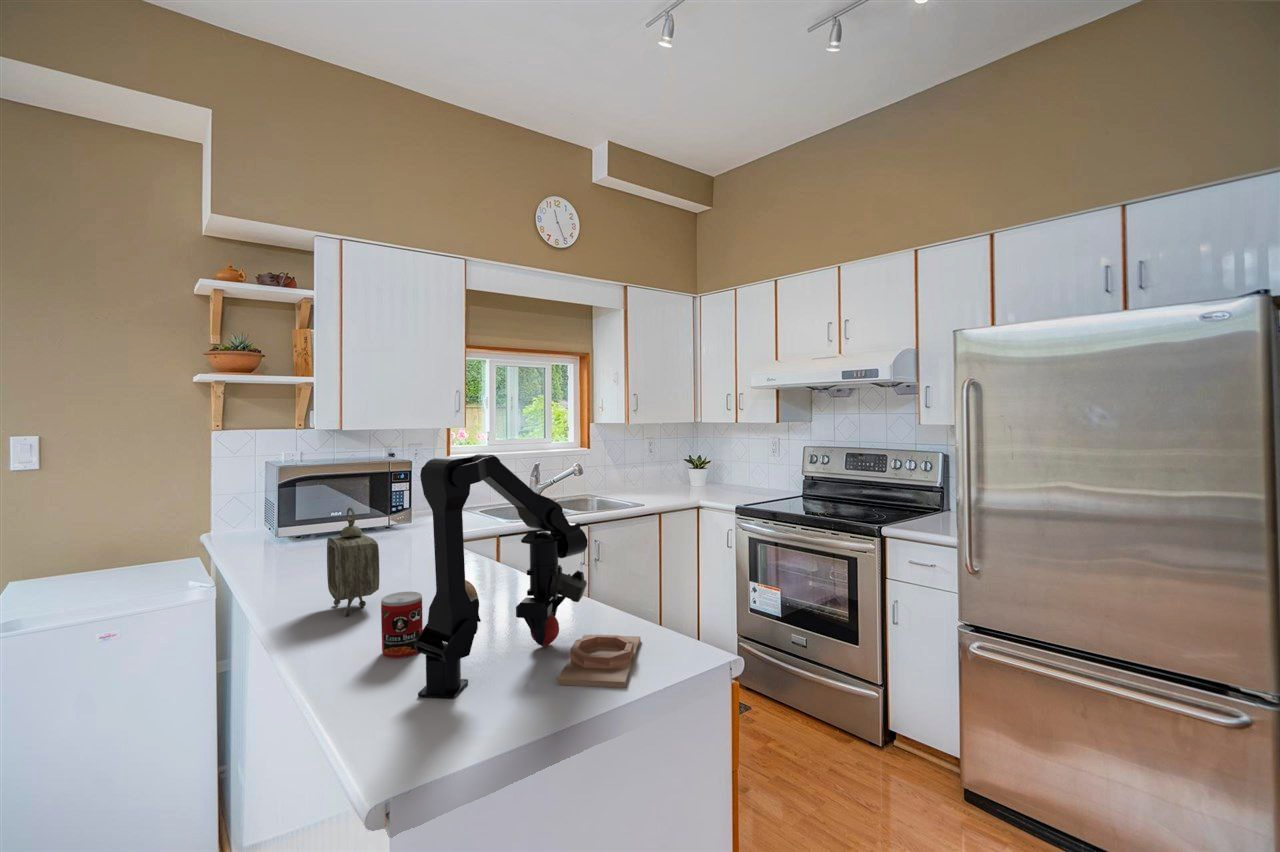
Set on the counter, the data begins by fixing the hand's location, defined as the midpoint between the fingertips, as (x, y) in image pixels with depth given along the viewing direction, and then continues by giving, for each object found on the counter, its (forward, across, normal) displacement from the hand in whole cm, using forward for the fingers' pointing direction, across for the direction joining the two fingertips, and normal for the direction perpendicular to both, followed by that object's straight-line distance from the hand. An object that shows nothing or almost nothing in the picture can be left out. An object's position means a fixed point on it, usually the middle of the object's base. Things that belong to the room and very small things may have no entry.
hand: (544, 639), depth 126 cm
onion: (+2, 0, 0) cm, 2 cm away
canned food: (+2, -5, +28) cm, 29 cm away
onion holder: (+2, -6, -13) cm, 14 cm away
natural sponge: (+2, +13, +24) cm, 27 cm away
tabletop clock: (+2, +20, +54) cm, 58 cm away
